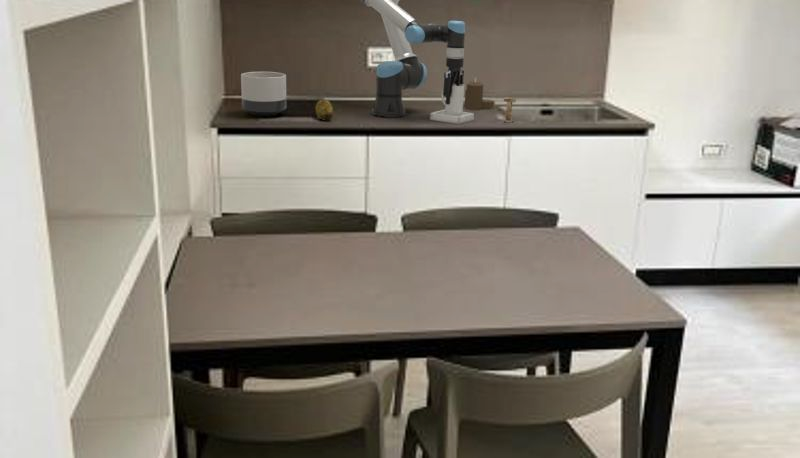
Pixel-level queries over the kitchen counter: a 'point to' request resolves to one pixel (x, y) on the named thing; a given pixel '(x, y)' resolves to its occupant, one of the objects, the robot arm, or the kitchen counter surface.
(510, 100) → the post
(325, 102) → the potato
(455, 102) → the mug
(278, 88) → the planter
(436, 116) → the tray
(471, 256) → the kitchen counter surface
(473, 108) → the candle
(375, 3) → the robot arm
